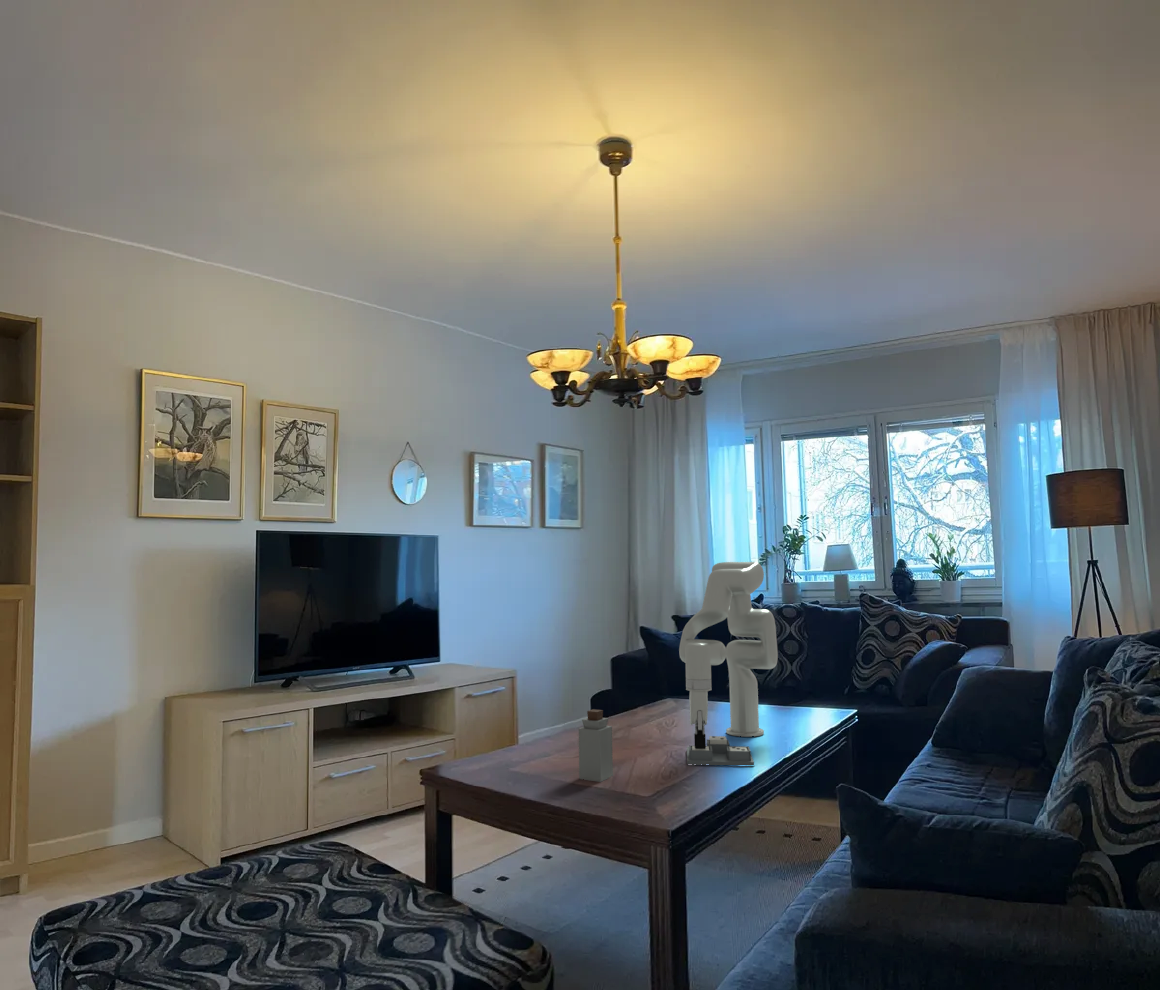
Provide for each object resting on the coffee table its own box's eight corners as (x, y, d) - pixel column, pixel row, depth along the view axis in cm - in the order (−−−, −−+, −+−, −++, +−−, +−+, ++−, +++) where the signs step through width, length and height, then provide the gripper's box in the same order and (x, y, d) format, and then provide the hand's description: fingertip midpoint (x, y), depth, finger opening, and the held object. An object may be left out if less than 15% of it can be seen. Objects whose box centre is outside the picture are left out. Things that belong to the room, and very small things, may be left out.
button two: (709, 742, 244) (709, 735, 244) (725, 743, 243) (725, 735, 243) (710, 746, 239) (709, 739, 239) (726, 746, 238) (726, 739, 239)
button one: (692, 753, 236) (691, 745, 236) (708, 753, 235) (708, 745, 236) (692, 757, 231) (692, 749, 231) (709, 757, 231) (709, 749, 231)
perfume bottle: (591, 773, 222) (590, 707, 223) (612, 776, 218) (611, 709, 220) (579, 778, 216) (578, 711, 217) (600, 782, 212) (599, 713, 214)
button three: (729, 753, 235) (729, 746, 235) (746, 754, 234) (746, 746, 234) (730, 757, 230) (730, 750, 230) (747, 758, 229) (747, 750, 229)
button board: (686, 750, 246) (686, 738, 247) (748, 751, 244) (748, 739, 244) (687, 765, 229) (687, 751, 229) (754, 766, 226) (753, 752, 227)
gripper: (685, 681, 243) (687, 742, 241) (686, 688, 228) (687, 753, 226) (710, 681, 242) (712, 742, 240) (712, 688, 227) (714, 754, 225)
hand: (700, 747), depth 233 cm, fingers closed
